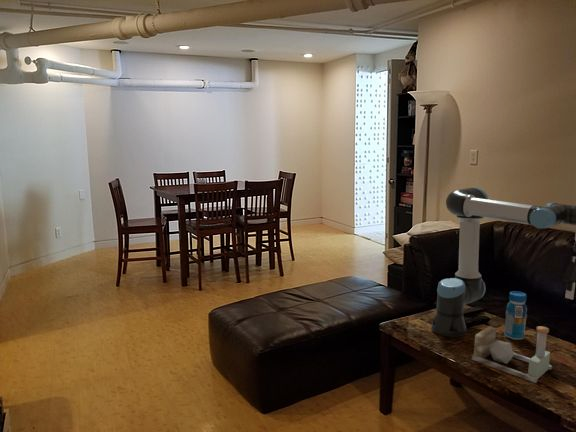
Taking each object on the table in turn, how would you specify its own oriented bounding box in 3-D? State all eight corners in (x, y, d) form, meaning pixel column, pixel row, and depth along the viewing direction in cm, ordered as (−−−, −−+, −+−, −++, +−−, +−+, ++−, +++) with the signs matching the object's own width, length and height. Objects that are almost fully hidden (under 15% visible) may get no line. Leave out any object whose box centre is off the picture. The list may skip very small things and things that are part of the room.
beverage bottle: (500, 335, 211) (503, 292, 207) (509, 330, 216) (513, 289, 212) (518, 342, 204) (522, 298, 201) (528, 336, 209) (532, 294, 206)
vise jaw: (526, 376, 175) (530, 331, 172) (538, 365, 183) (543, 322, 180) (537, 380, 172) (542, 334, 169) (549, 369, 180) (554, 325, 177)
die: (515, 361, 188) (505, 338, 192) (519, 360, 181) (508, 335, 184) (495, 367, 190) (485, 343, 194) (497, 366, 182) (487, 341, 186)
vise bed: (471, 359, 189) (473, 335, 187) (488, 347, 199) (490, 325, 197) (535, 383, 171) (538, 357, 169) (551, 369, 181) (553, 344, 179)
